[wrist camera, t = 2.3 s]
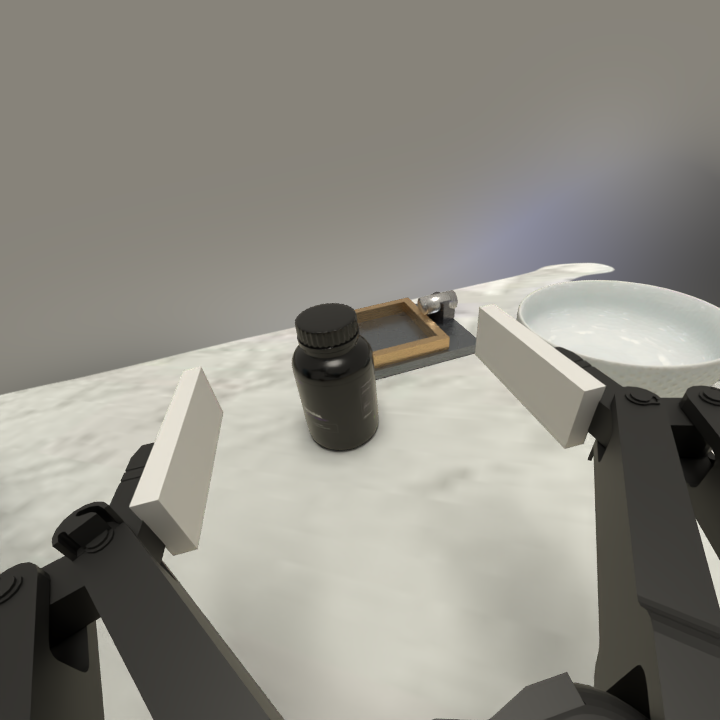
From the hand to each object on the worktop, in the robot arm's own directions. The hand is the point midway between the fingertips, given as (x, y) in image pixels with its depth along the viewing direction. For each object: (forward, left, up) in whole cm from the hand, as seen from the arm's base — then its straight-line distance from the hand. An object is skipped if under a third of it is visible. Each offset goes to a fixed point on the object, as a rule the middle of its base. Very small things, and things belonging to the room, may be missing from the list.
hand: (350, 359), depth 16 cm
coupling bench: (+1, +24, -15) cm, 28 cm away
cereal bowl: (+23, +16, -15) cm, 32 cm away
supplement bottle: (-3, +10, -15) cm, 18 cm away
